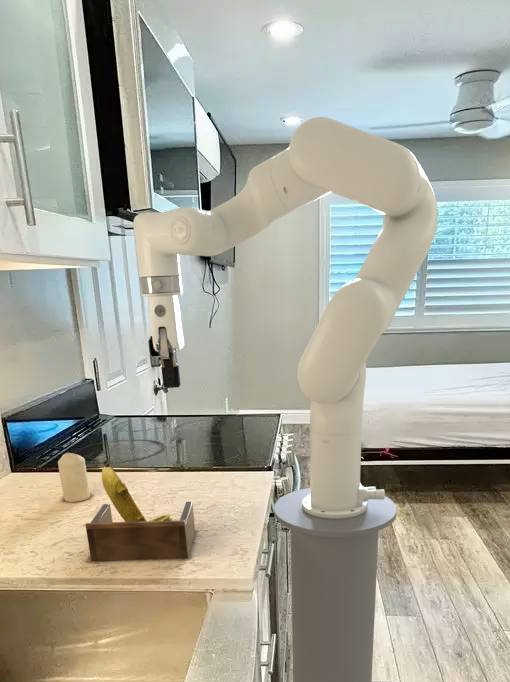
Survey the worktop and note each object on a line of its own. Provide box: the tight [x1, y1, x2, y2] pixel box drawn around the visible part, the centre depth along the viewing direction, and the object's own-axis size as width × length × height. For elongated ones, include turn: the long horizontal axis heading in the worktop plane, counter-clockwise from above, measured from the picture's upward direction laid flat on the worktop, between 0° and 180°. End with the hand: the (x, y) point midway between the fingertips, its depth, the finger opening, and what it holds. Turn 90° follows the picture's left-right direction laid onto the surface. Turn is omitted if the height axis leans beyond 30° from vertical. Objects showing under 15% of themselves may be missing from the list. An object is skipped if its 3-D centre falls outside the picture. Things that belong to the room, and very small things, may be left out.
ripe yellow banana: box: [101, 460, 173, 522], centre depth 102 cm, size 12×8×15 cm
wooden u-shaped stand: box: [85, 501, 196, 562], centre depth 101 cm, size 16×11×7 cm
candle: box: [57, 452, 91, 503], centre depth 124 cm, size 6×6×10 cm
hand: (172, 386), depth 113 cm, fingers closed
